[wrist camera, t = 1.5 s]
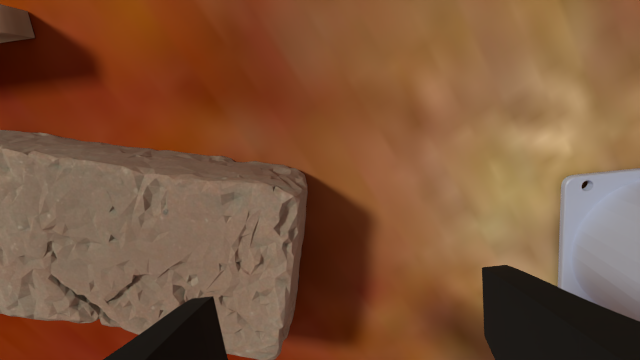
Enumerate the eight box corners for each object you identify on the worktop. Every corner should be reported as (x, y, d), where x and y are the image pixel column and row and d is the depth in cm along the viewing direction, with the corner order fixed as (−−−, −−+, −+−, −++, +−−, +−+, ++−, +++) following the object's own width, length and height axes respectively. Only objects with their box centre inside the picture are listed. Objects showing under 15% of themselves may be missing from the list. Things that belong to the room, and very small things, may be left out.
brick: (12, 268, 21) (-77, 317, 17) (0, 123, 19) (-105, 133, 15) (296, 307, 21) (285, 368, 16) (314, 165, 19) (307, 189, 14)
